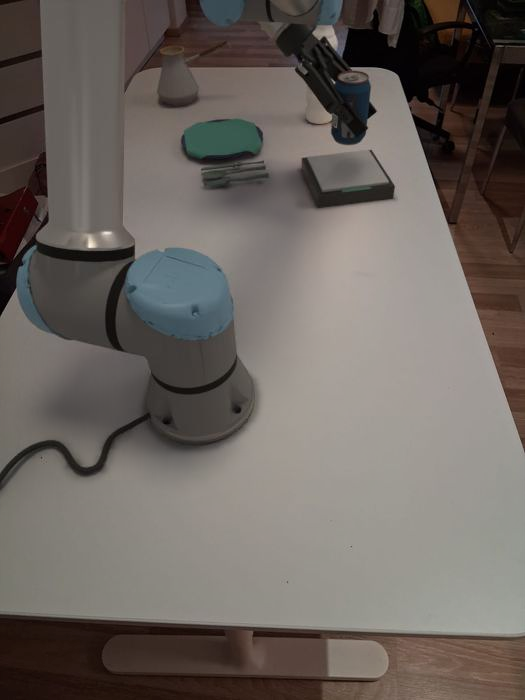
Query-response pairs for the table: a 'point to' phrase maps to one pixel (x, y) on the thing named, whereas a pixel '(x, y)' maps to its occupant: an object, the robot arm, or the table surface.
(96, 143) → the robot arm
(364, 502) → the table surface
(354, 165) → the scale
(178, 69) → the coffee pot
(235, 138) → the cutlery set
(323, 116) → the water bottle
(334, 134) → the soda can
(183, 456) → the table surface
